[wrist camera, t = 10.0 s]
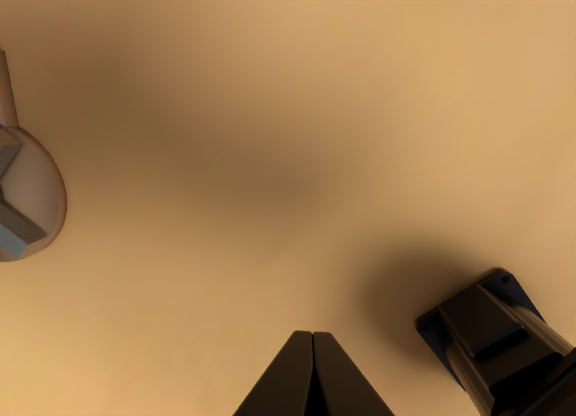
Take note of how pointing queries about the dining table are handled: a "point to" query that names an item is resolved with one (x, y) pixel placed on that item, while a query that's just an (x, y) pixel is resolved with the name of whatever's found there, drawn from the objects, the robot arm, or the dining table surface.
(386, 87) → the dining table surface
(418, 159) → the dining table surface
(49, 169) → the stand
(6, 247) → the turnstile
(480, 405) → the robot arm
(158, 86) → the dining table surface
